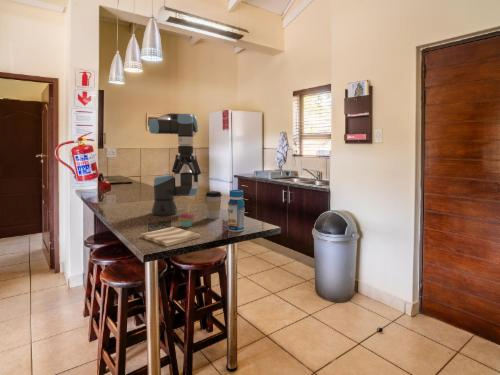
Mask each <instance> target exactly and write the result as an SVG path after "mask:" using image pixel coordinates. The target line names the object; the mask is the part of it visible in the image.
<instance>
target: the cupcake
mask: <svg viewBox="0 0 500 375" xmlns="http://www.w3.org/2000/svg"><path fill="white" fill-rule="evenodd" d="M190 205H191V204H190V203H188V206H187V212H186V211H185V212H183V213H180V214H179V215H178V217H177V220H178V221H179V223H180V224H181V225H180V226H181V227H182V228H188V227H192V224H193V221H194V220H195V218H196V217H195V215H194V213H192V212H190Z"/></svg>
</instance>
